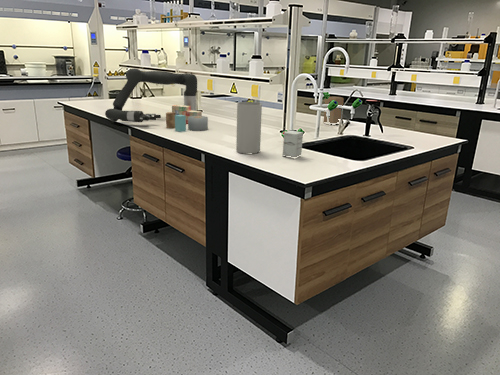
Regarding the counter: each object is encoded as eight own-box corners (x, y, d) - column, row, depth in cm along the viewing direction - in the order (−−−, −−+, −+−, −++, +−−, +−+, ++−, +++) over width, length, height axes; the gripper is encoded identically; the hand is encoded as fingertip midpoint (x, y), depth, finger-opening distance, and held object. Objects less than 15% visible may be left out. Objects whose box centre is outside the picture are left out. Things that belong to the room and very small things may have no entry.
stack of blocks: (202, 124, 283) (201, 106, 279) (197, 125, 278) (197, 107, 274) (177, 121, 291) (176, 104, 287) (172, 122, 286) (171, 105, 282)
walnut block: (166, 128, 264) (165, 113, 261) (168, 126, 269) (168, 112, 266) (173, 128, 264) (173, 113, 261) (176, 127, 268) (175, 112, 265)
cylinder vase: (235, 148, 214) (236, 101, 205) (258, 149, 214) (260, 102, 206) (236, 154, 202) (237, 104, 194) (261, 154, 203) (263, 105, 195)
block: (333, 125, 293) (335, 98, 287) (322, 123, 300) (325, 96, 294) (341, 124, 299) (344, 97, 293) (331, 122, 306) (333, 96, 300)
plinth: (184, 128, 265) (184, 116, 262) (200, 126, 273) (200, 114, 270) (195, 131, 256) (195, 119, 253) (211, 129, 264) (211, 117, 261)
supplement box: (281, 156, 200) (283, 132, 195) (289, 154, 205) (290, 130, 201) (295, 159, 196) (296, 134, 192) (301, 156, 202) (303, 131, 198)
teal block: (175, 130, 257) (174, 115, 254) (181, 129, 260) (181, 114, 257) (179, 131, 253) (178, 116, 250) (186, 131, 257) (185, 115, 253)
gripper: (130, 112, 260) (154, 113, 258) (139, 109, 273) (161, 110, 271) (131, 123, 262) (154, 124, 260) (140, 120, 275) (162, 121, 273)
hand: (158, 117), depth 265 cm, fingers open, 8 cm apart
